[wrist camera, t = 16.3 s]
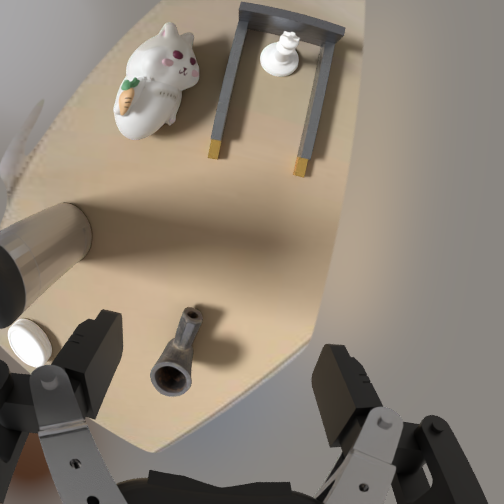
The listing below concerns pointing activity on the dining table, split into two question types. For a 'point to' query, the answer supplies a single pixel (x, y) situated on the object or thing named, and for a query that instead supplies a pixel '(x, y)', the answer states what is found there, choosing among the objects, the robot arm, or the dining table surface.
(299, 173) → the bracket
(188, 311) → the pipe
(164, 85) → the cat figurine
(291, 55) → the chess piece
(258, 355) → the dining table surface
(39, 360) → the round white light
